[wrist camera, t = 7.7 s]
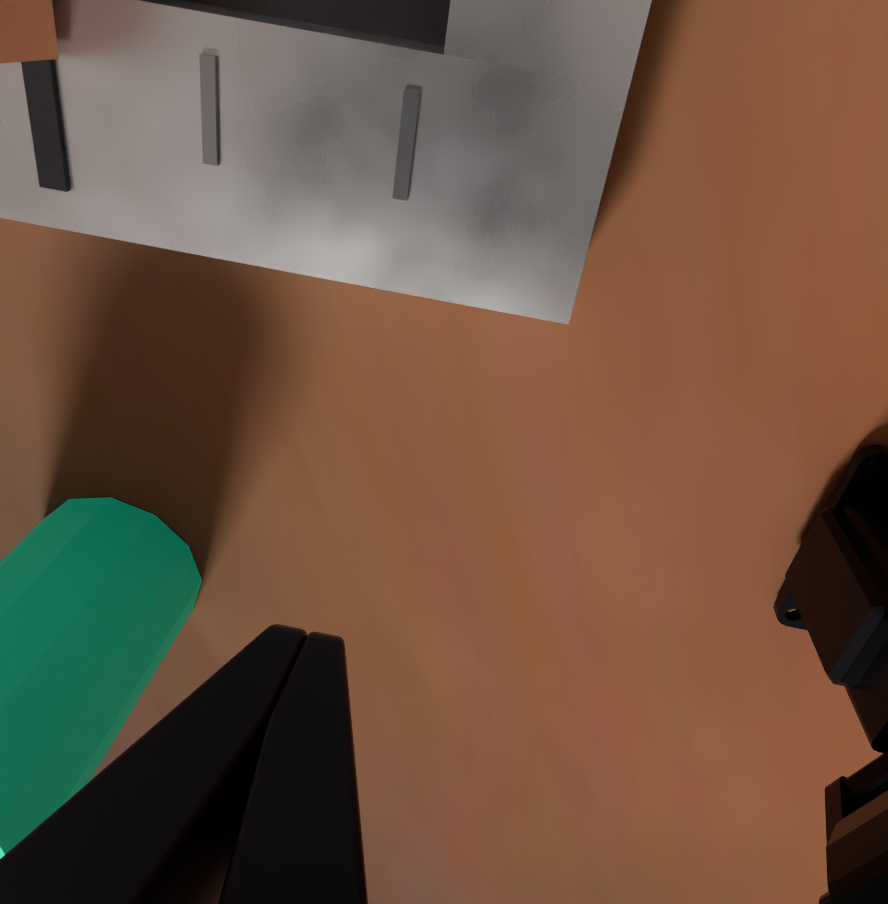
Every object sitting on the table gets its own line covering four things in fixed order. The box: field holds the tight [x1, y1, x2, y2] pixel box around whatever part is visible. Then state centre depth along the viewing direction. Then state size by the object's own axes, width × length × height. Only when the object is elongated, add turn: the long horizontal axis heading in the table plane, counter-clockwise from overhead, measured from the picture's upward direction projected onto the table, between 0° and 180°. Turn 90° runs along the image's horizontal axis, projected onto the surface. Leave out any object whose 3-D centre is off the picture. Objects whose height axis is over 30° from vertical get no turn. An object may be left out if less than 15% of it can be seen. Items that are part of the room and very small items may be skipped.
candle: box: [0, 497, 202, 859], centre depth 20 cm, size 6×6×12 cm
